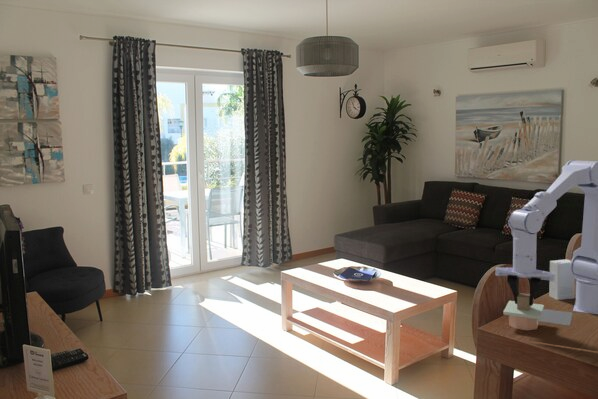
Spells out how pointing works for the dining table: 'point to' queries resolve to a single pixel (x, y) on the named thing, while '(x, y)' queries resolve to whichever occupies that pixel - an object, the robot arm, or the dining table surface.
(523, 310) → the sage lid
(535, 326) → the terracotta bowl
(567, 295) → the skincare box
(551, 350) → the dining table surface
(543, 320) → the grey mat
